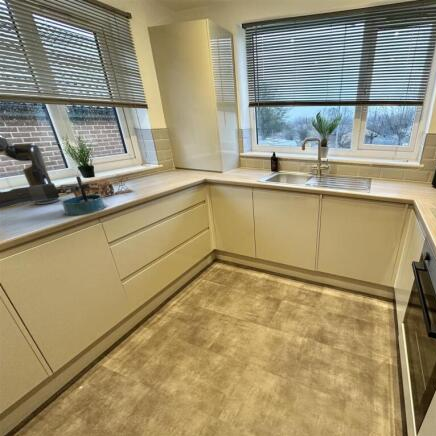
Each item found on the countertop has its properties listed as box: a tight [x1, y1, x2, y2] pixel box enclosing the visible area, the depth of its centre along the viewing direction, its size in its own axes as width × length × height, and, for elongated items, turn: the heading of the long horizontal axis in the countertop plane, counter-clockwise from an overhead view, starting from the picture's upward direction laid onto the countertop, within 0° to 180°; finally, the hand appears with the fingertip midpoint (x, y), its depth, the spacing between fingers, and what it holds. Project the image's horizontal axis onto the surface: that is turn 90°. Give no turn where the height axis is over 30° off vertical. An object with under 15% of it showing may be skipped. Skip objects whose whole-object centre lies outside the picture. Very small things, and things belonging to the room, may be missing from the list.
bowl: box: [61, 195, 106, 216], centre depth 126 cm, size 16×16×6 cm
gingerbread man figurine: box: [113, 174, 133, 195], centre depth 156 cm, size 9×4×12 cm, turn 134°
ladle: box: [76, 175, 93, 203], centre depth 125 cm, size 6×6×16 cm
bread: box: [73, 179, 115, 198], centre depth 147 cm, size 19×11×10 cm, turn 139°
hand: (88, 185), depth 126 cm, fingers closed on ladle
